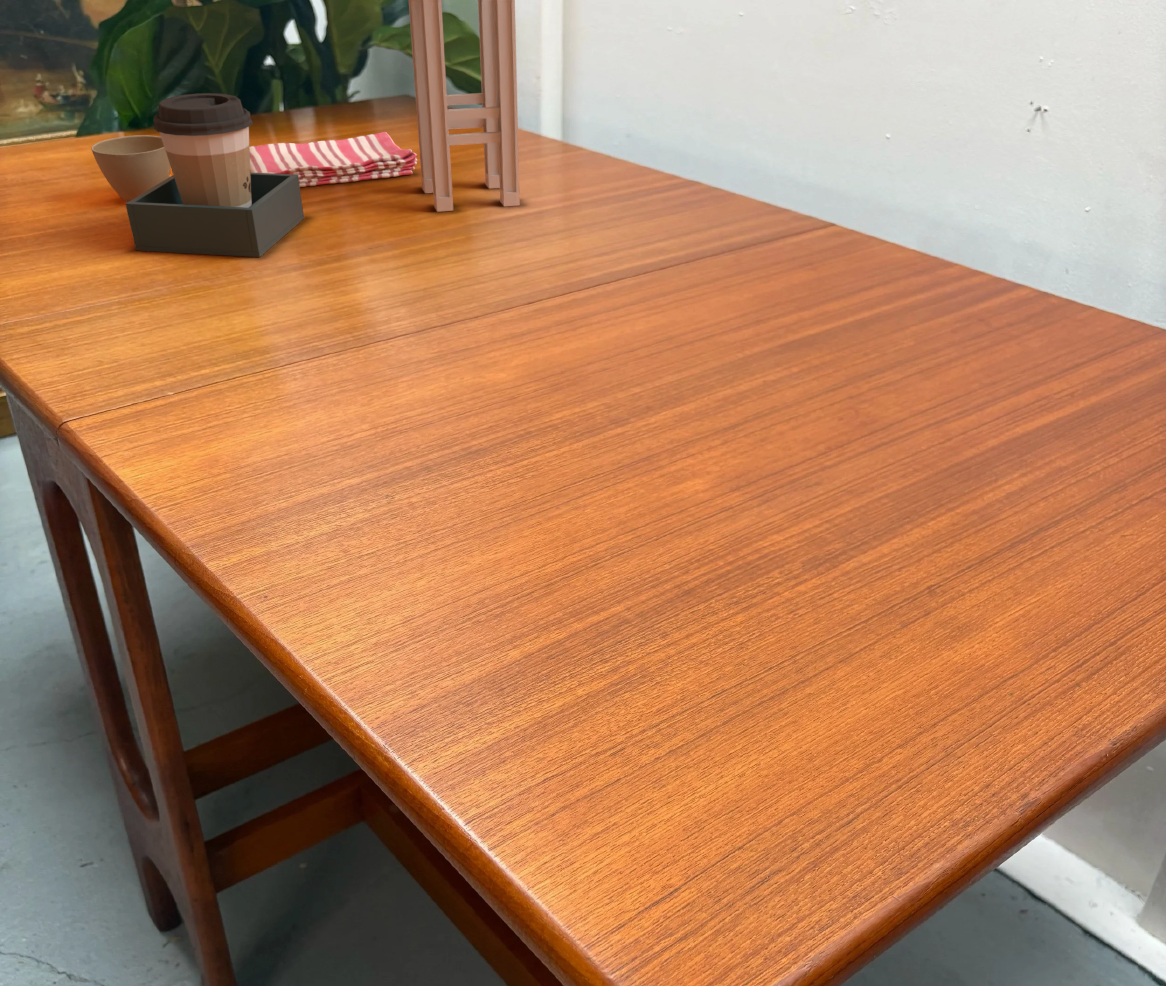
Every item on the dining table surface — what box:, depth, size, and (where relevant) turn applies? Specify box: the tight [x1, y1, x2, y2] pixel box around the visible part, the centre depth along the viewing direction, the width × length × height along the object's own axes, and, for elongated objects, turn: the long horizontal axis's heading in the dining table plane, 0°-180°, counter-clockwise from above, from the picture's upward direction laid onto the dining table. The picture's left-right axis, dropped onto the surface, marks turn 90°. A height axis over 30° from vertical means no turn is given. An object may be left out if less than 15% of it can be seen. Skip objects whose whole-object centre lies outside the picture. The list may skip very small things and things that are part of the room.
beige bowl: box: [90, 134, 171, 203], centre depth 148 cm, size 10×10×7 cm
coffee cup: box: [152, 92, 253, 208], centre depth 134 cm, size 11×11×15 cm
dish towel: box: [249, 131, 418, 188], centre depth 163 cm, size 17×23×4 cm
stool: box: [408, 0, 521, 213], centre depth 142 cm, size 16×16×35 cm
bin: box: [125, 172, 305, 258], centre depth 137 cm, size 16×16×6 cm
